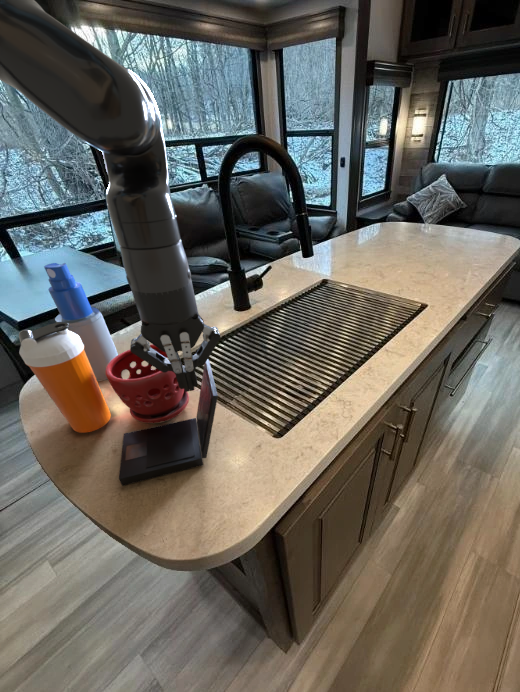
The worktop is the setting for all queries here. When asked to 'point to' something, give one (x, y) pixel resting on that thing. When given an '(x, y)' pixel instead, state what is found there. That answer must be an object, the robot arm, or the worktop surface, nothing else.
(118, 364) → the flower pot
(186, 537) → the worktop surface
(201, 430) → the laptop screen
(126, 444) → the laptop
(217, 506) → the worktop surface
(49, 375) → the shaker bottle
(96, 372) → the spray bottle
